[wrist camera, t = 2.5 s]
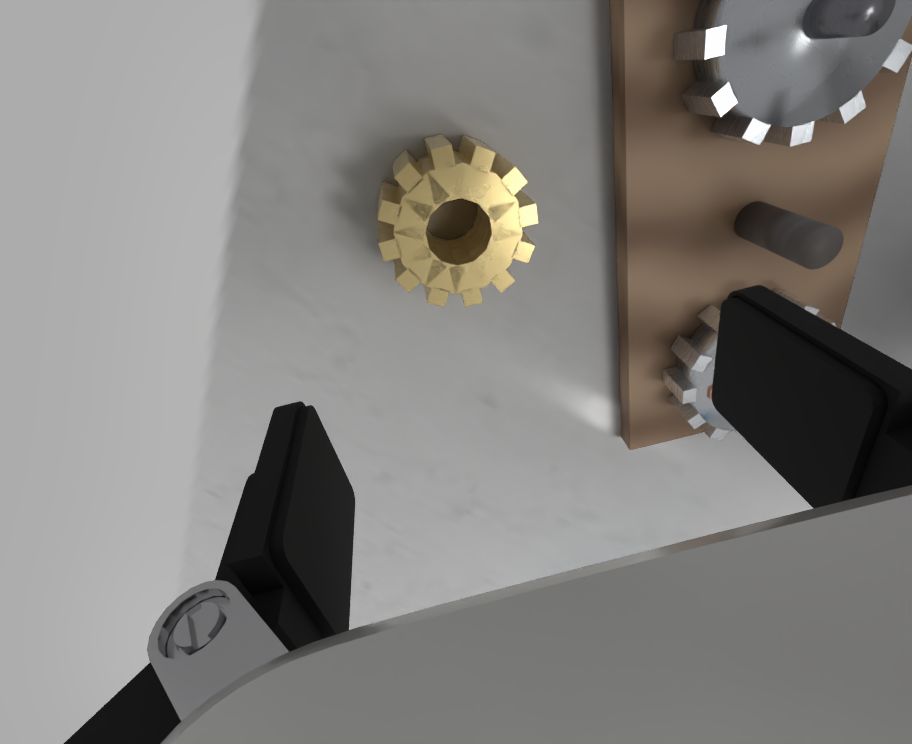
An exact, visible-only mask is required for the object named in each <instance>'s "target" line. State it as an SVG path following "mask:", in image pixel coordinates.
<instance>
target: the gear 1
mask: <svg viewBox="0 0 912 744" xmlns="http://www.w3.org/2000/svg"><path fill="white" fill-rule="evenodd" d="M911 16H912V0H700V2H699V5H698V9H697V12H696V16H695V21H694V26H693V29H691V30H687V31H684V32H680V33H676V34H674V60H692V64H693V71H694V75H695V79H696V82H694V83H693V84H692V85H691V86H690V87H689V88H688V89H687V90H685V91H684V92H683V93H682V94H681V97H682V99H683V101H684V103H685V104H686V106H687V108H688V110H689V112H690V113H694V114H701V115H708V116H715V117H718V118H717V119H716V121H715V123H714V125H713V127H712V129H711V131H710V132H712V133H714V134H716V135H719V136H721V137H724V138H726V139H731V140H736V141H741V142H746V143H751V144H756V145H760V143H761V142H762V141H763V142H768V143H773V144H778V145H784V146H789V147H790V146H794V145H798V144H802V143H806V142H810V141H811V140H812V134H813V129H814V123H815V121H824V122H832V123H841V124H845V123H847V122H848V121H849V120H850V119H852V118H853V117H854V116H855V115H857V114H858V113H859V112H861V111H862V110H863V109H864V108H866V104H865V101H864V98H863V95H862V90H863V89H864V88H865V87H866V85H867V84H868V83H869V82H870V81H871V80H872V79H873V78H874V77H875V76H876V74H877V73H897V72H898V71H899V69H900V68H901V66H902V65H903V63H904V62H905V60H906V59H907V57H908V56H909V54H910V53H911V51H912V45H911V44H909V43H907V42H905V41H903V40H902V39H901V38H902V36H903V34H904V32H905V30H906V28H907V25H908V23H909V21H910V19H911Z"/></svg>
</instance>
